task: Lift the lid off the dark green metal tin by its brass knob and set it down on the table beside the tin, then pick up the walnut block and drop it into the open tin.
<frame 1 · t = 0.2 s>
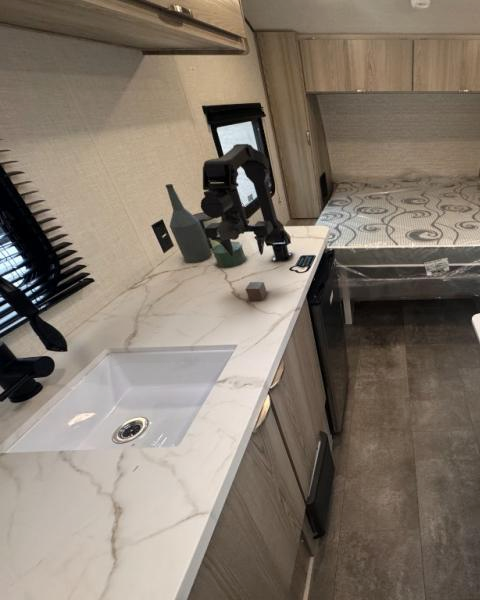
hand: (247, 254, 103), 15 cm above the worktop, tool pointing down, fingers open, 9 cm apart
tin: (232, 261, 132), on the worktop
block: (258, 296, 109), on the worktop
bottle: (199, 258, 136), on the worktop
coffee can: (214, 246, 146), on the worktop
lid: (227, 248, 129), point 6 cm above the worktop, touching tin
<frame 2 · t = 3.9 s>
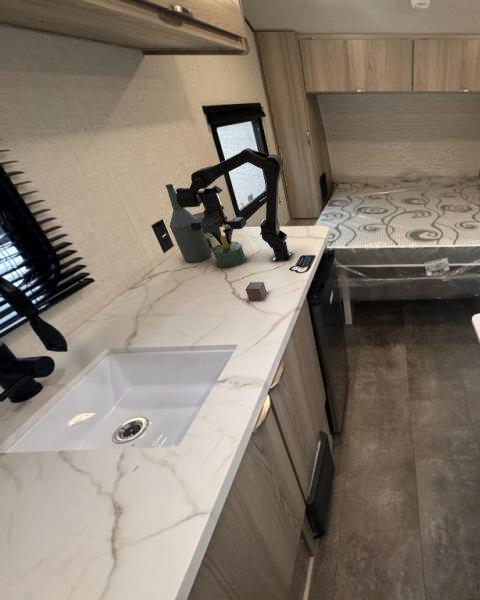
hand: (226, 244, 128), 7 cm above the worktop, tool pointing down, fingers closed on lid, 3 cm apart
lid: (227, 248, 129), point 6 cm above the worktop, touching gripper, tin
everything else where it was.
when the fingers open (2 cm above the worktop, at t = 8.8 s): lid stays where it is, point 1 cm above the worktop.
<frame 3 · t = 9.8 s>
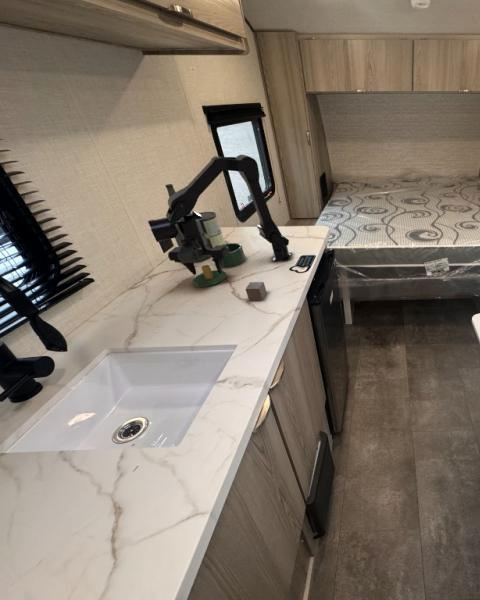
hand: (207, 273, 118), 3 cm above the worktop, tool pointing down, fingers open, 9 cm apart
lid: (210, 278, 119), point 1 cm above the worktop
everything else where it was.
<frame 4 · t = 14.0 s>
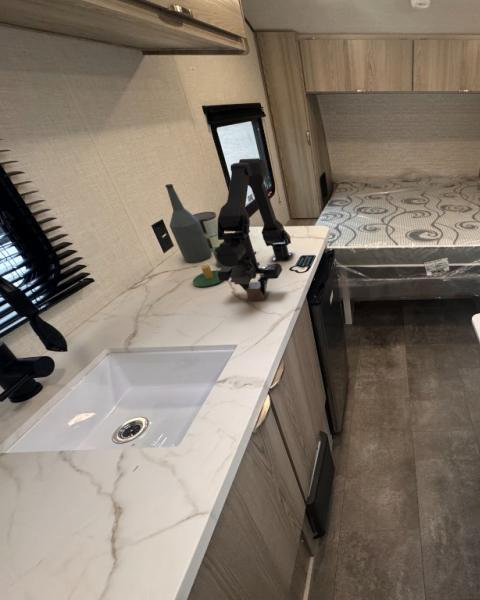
hand: (257, 294, 109), 1 cm above the worktop, tool pointing down, fingers closed on block, 4 cm apart
block: (258, 296, 109), on the worktop, touching gripper
everything else where it was.
when the fingers open (4 cm above the worktop, at t = 21.5 s): block stays where it is, resting on tin.
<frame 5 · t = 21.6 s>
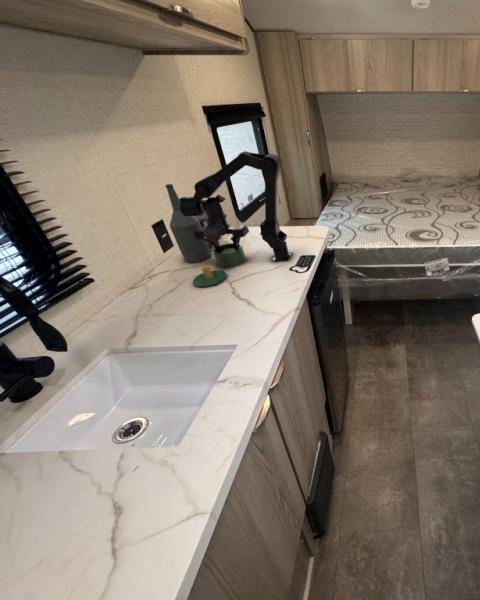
hand: (228, 252, 130), 4 cm above the worktop, tool pointing down, fingers open, 7 cm apart
block: (231, 260, 132), resting on tin
everything else where it was.
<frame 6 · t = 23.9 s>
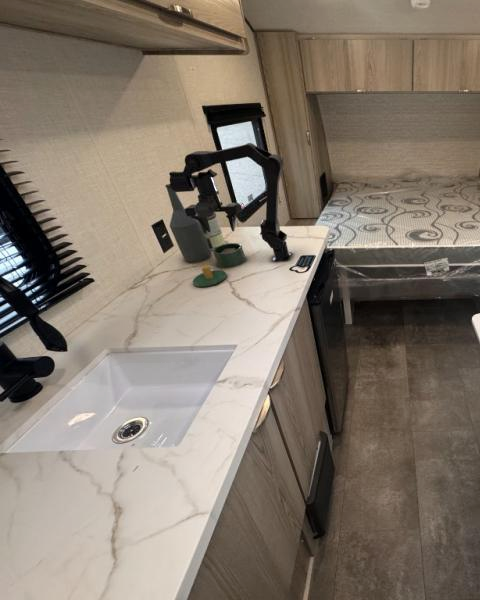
hand: (221, 231, 125), 13 cm above the worktop, tool pointing down, fingers open, 9 cm apart
nothing on the worktop moved.
at the end: lid inside the target area on the worktop beside the tin (0.1 cm from its centre), point 0.6 cm above the worktop; lid tilted 0°; block inside the target area in the tin (0.1 cm from its centre), point 0.4 cm above the tin's base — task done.
